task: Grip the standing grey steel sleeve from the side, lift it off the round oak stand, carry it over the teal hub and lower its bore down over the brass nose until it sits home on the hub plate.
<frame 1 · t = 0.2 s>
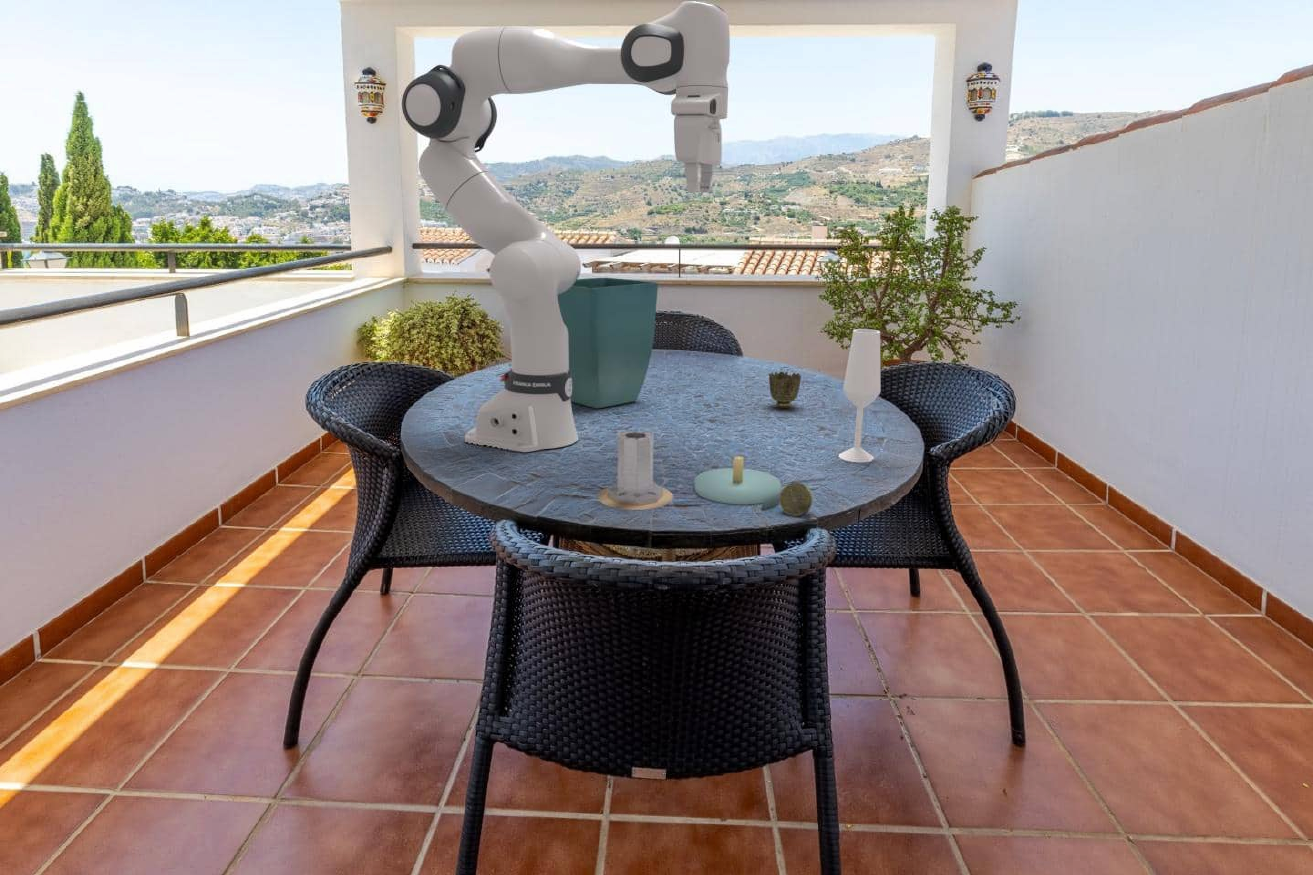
hand: (698, 192, 145), 48 cm above the table, tool pointing down, fingers open, 8 cm apart
hub: (737, 495, 135), on the table
stand: (635, 503, 132), on the table
flower pot: (599, 402, 198), on the table
lime: (795, 514, 128), on the table
cup: (783, 408, 194), on the table
champagne flute: (856, 458, 157), on the table
sleeve: (635, 495, 131), point 1 cm above the table, touching stand
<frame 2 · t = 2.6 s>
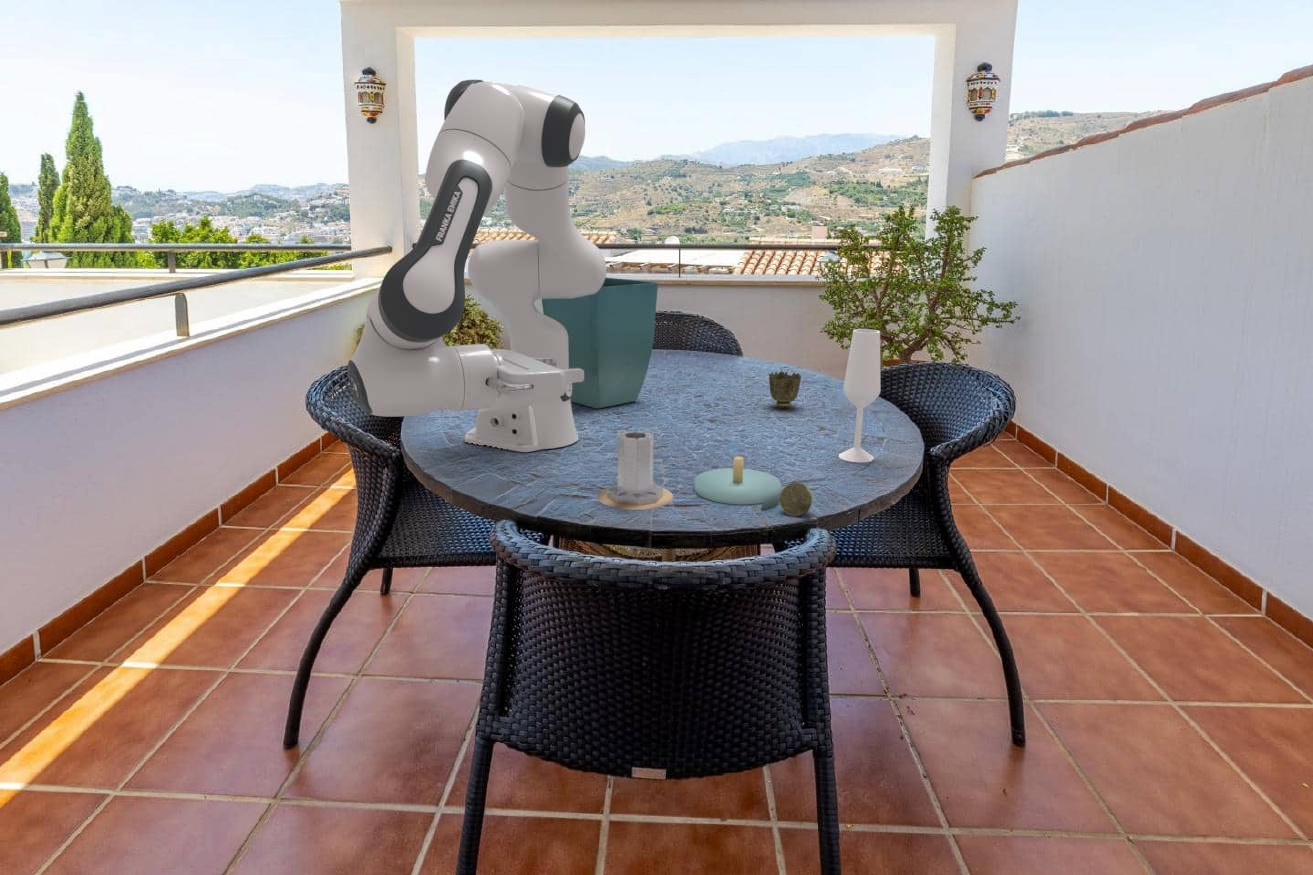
hand: (568, 369, 120), 23 cm above the table, tool horizontal, fingers open, 8 cm apart
nothing on the table moved.
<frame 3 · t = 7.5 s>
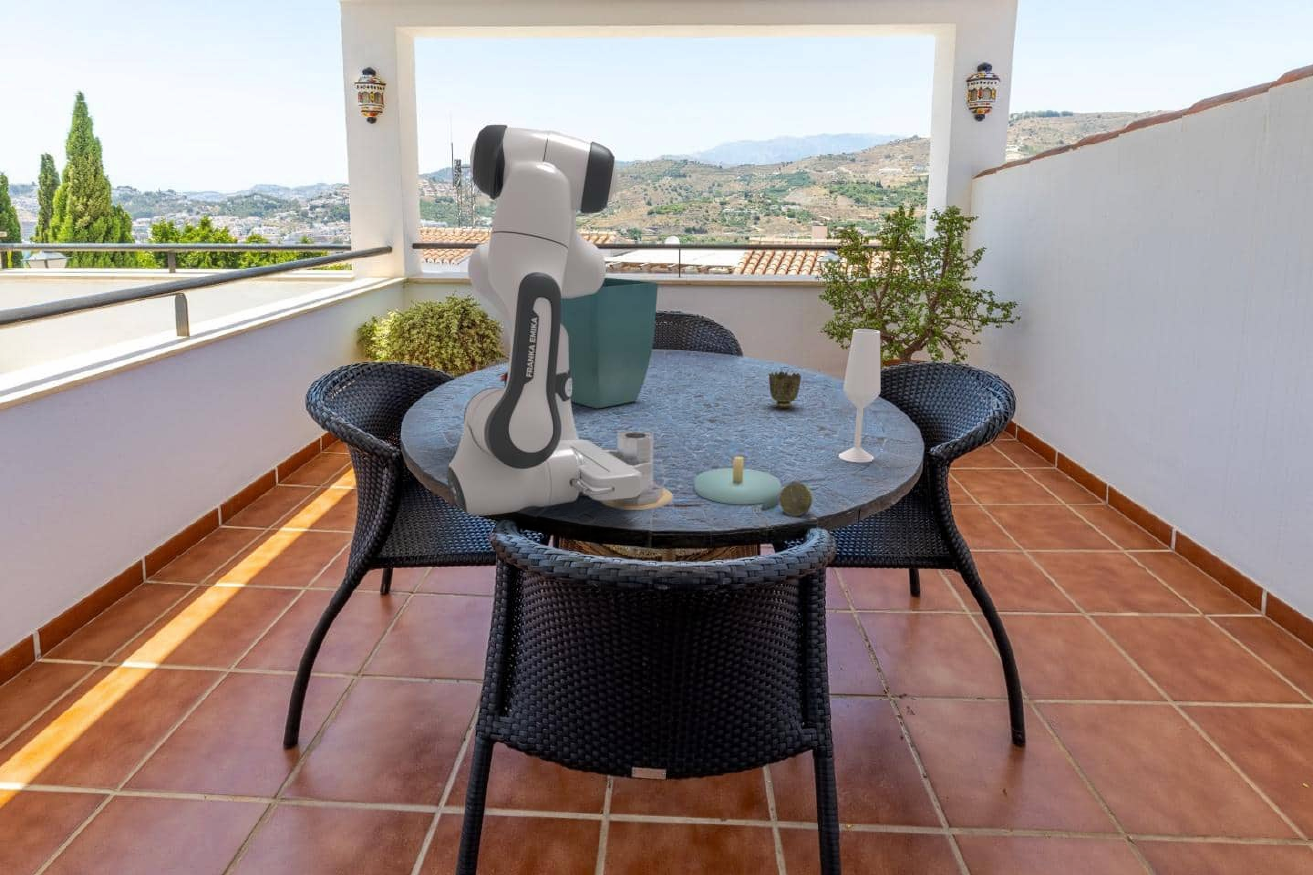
hand: (640, 461, 130), 7 cm above the table, tool horizontal, fingers closed on sleeve, 5 cm apart
sleeve: (635, 495, 131), point 1 cm above the table, touching gripper, stand
everything else where it was.
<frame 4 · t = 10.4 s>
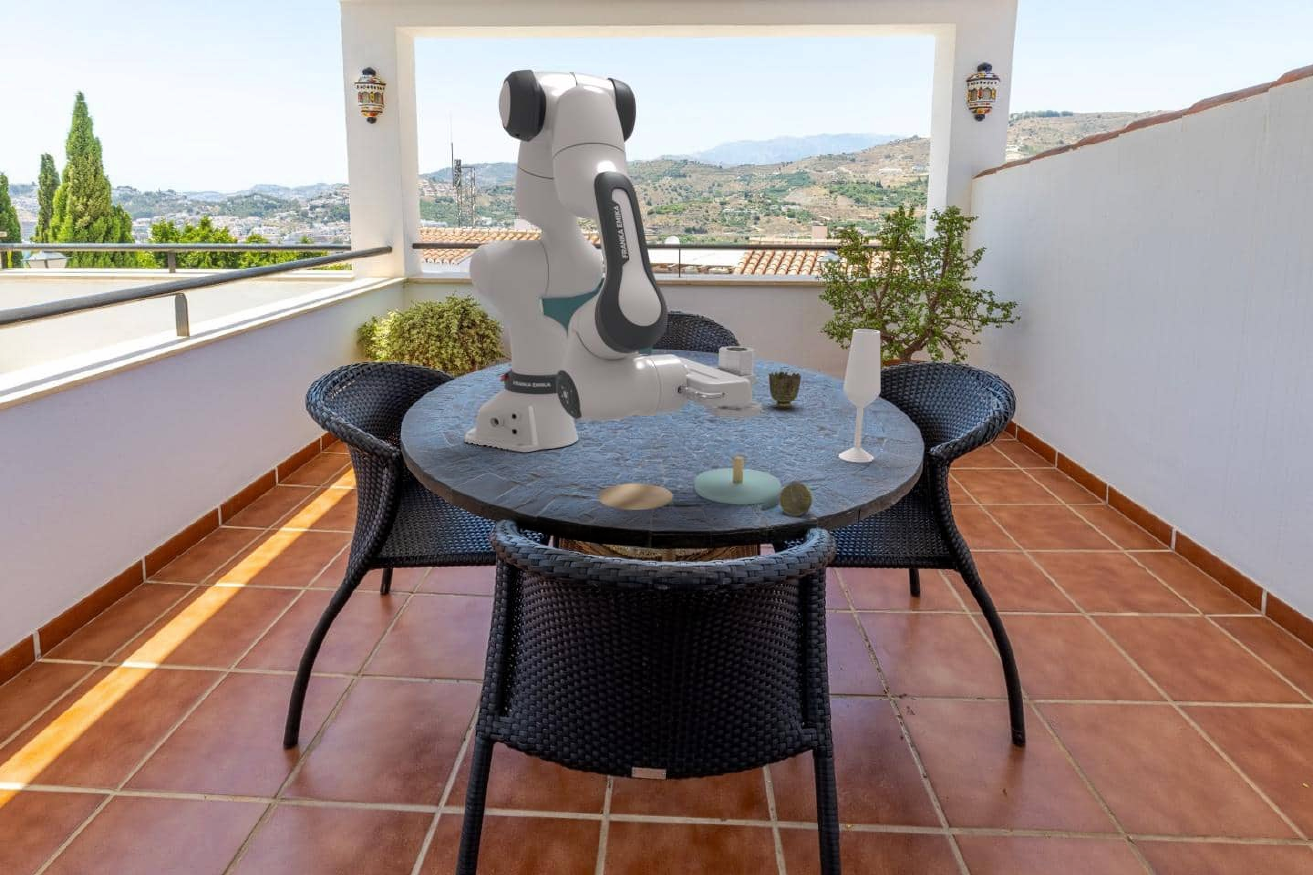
hand: (740, 376, 130), 20 cm above the table, tool horizontal, fingers closed on sleeve, 5 cm apart
sleeve: (734, 411, 131), point 14 cm above the table, touching gripper
everything else where it was.
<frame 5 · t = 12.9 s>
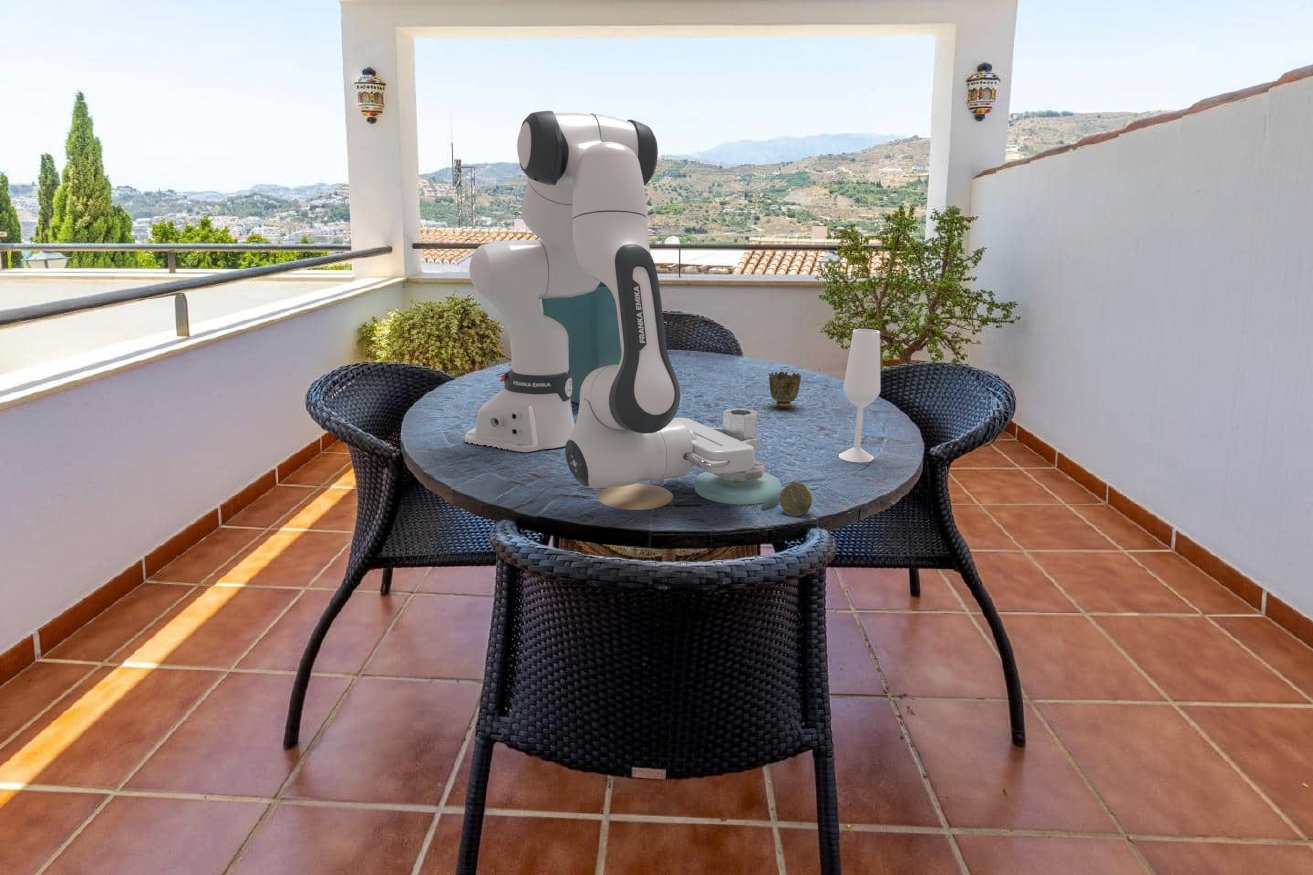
hand: (744, 438, 133), 10 cm above the table, tool horizontal, fingers closed on sleeve, 5 cm apart
sleeve: (738, 472, 134), point 4 cm above the table, touching gripper
everything else where it was.
when the fingers open (9 cm above the table, at t = 13.6 s): sleeve stays where it is, resting on hub.
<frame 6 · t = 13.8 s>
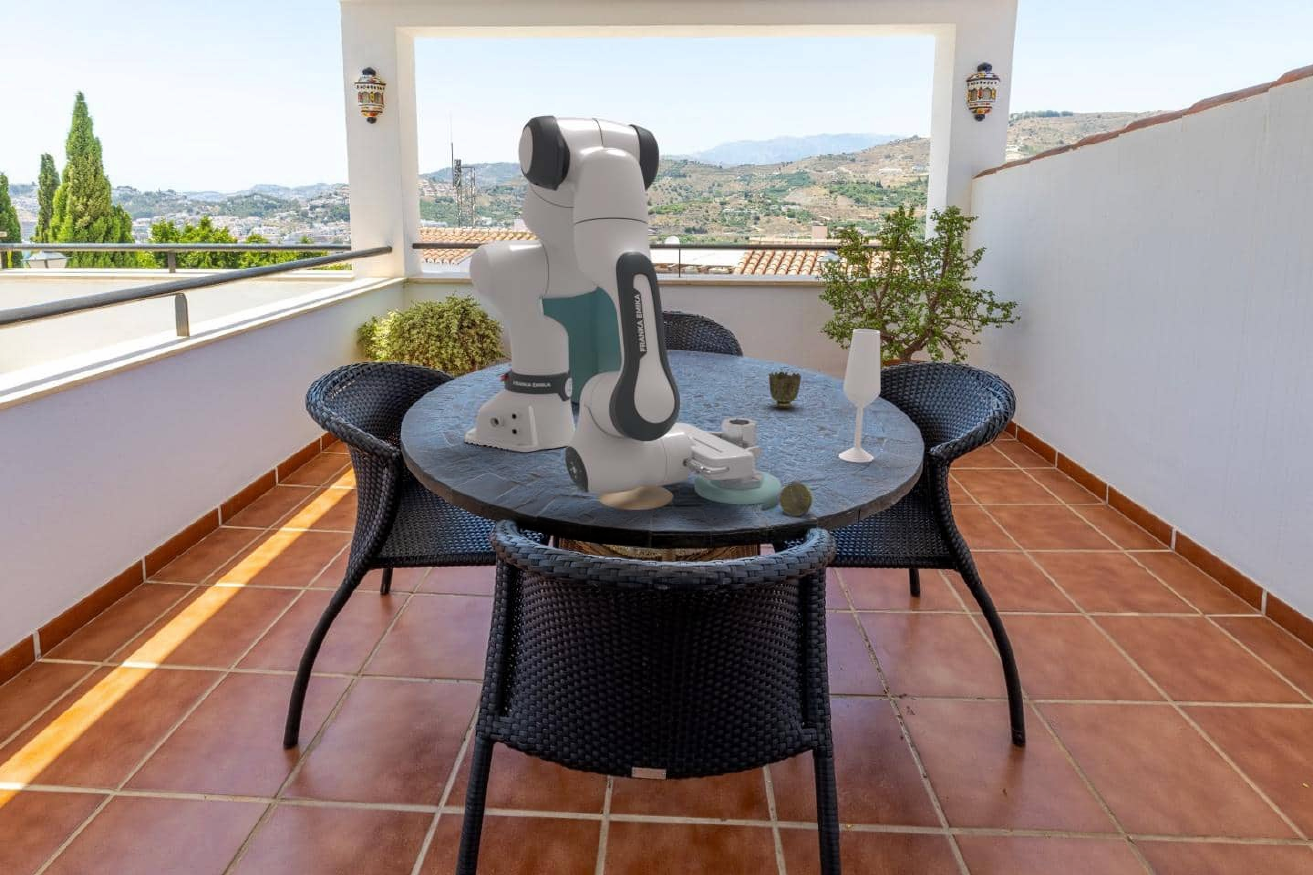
hand: (743, 443, 134), 9 cm above the table, tool horizontal, fingers open, 7 cm apart
sleeve: (737, 481, 135), point 2 cm above the table, touching hub
everything else where it was.
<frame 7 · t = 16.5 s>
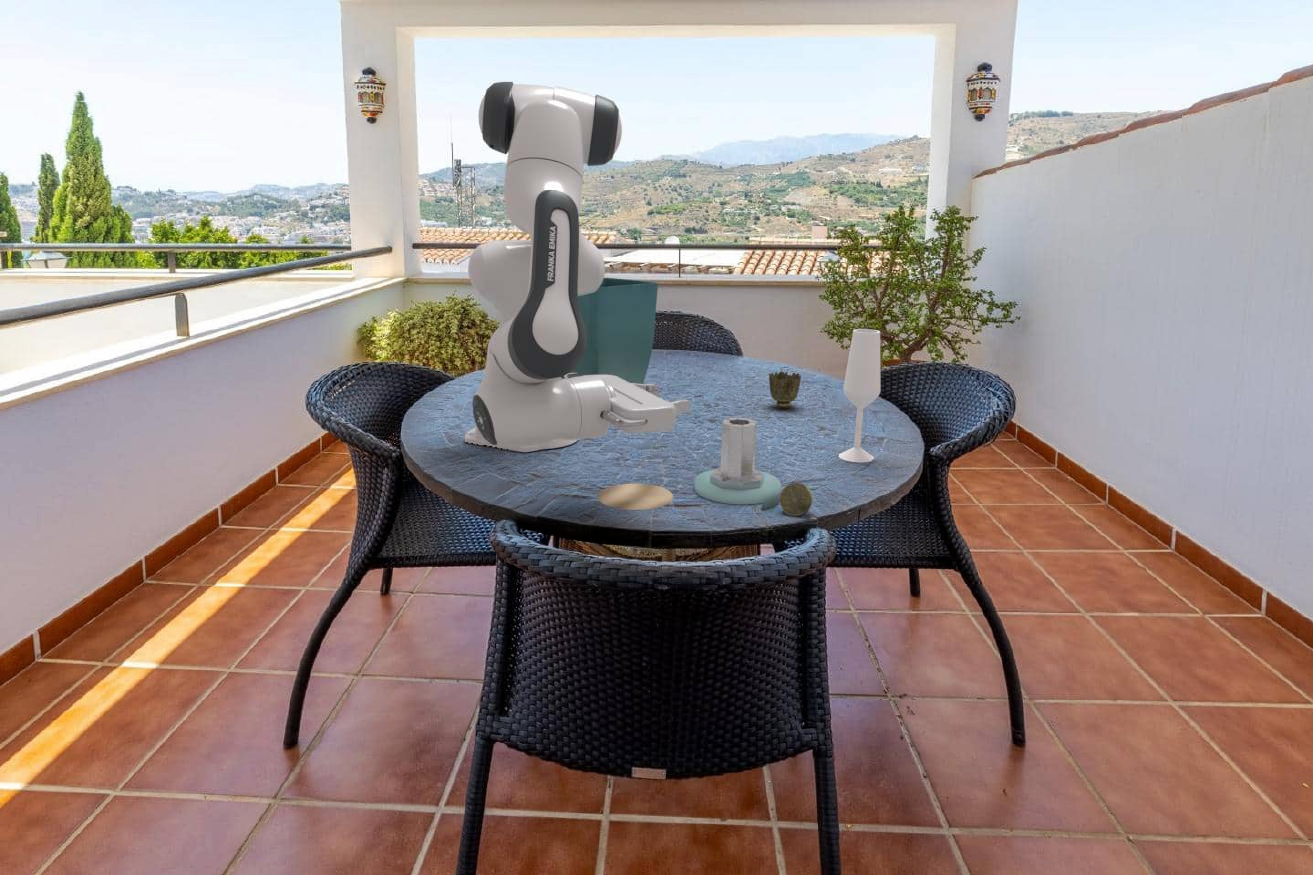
hand: (671, 397, 125), 18 cm above the table, tool horizontal, fingers open, 8 cm apart
nothing on the table moved.
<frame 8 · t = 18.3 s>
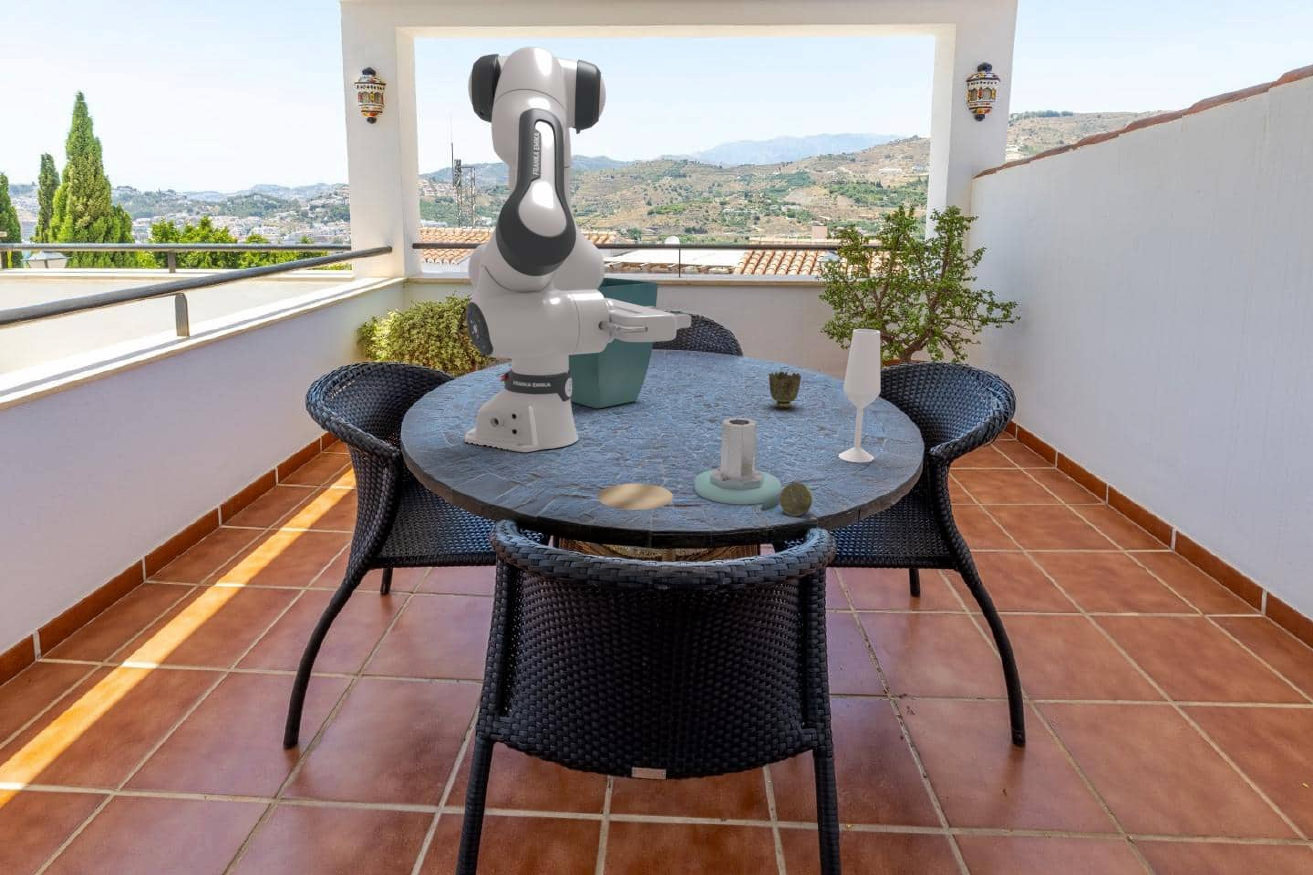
hand: (672, 316, 122), 30 cm above the table, tool horizontal, fingers open, 8 cm apart
nothing on the table moved.
at the end: sleeve 0.1 cm from the hub (horizontally); sleeve point 2.5 cm above the table; sleeve tilted 0° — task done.
